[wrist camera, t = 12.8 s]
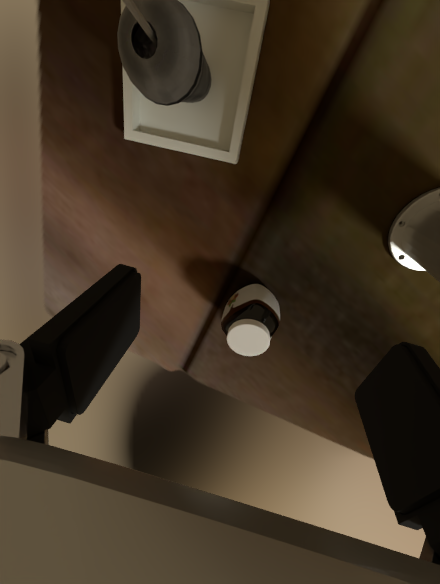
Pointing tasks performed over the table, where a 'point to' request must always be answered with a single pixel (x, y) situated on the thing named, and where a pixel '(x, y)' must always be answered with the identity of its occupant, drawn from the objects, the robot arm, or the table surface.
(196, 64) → the beverage cup
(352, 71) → the table surface
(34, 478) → the robot arm
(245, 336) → the spread jar
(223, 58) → the walled tray
